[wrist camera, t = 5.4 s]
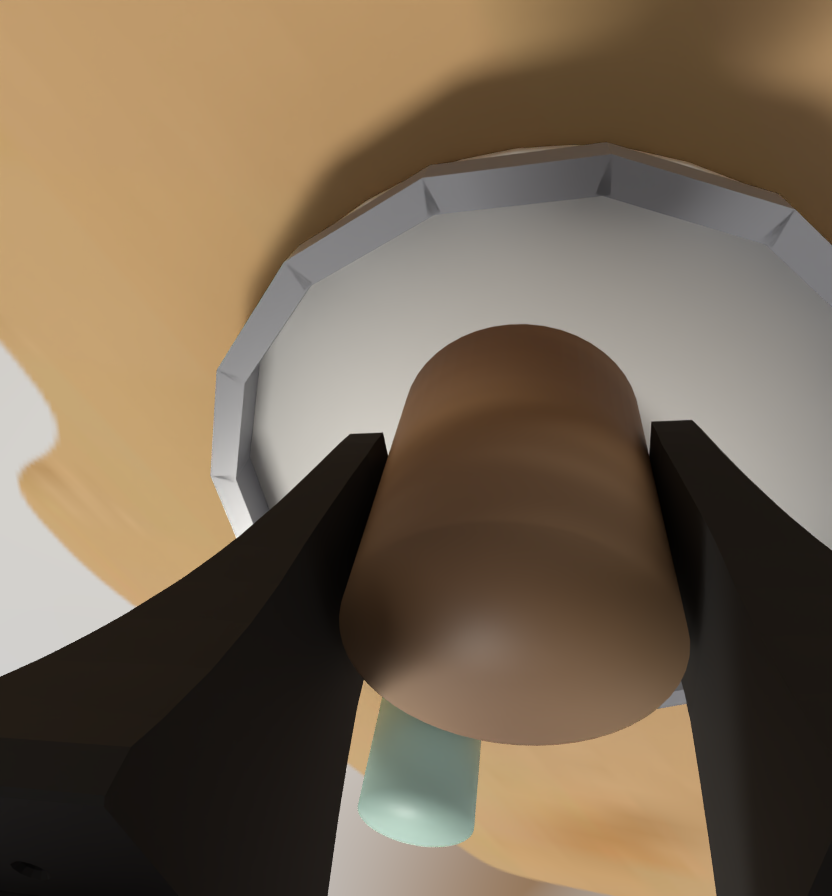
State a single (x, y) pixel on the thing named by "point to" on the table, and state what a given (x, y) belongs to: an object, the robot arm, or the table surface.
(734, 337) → the groove tray
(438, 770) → the mint green cylinder
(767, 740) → the robot arm
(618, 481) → the walnut bead
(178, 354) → the table surface
